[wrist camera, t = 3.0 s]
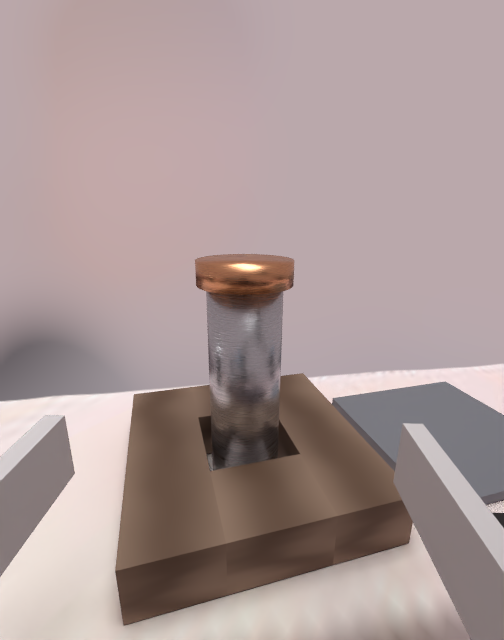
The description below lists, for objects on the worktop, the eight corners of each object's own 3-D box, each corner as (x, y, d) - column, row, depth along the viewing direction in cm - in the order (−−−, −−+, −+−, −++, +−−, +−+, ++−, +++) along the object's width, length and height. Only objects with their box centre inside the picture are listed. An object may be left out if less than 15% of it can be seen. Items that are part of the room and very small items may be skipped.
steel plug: (270, 442, 29) (275, 253, 24) (297, 496, 24) (310, 264, 19) (200, 455, 28) (190, 255, 23) (211, 515, 22) (202, 268, 17)
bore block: (301, 404, 35) (302, 373, 34) (408, 543, 20) (417, 496, 19) (137, 428, 31) (133, 394, 30) (123, 625, 16) (115, 571, 15)
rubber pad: (444, 387, 38) (445, 381, 38) (590, 476, 26) (594, 467, 25) (332, 405, 35) (332, 398, 35) (437, 517, 22) (439, 508, 22)
